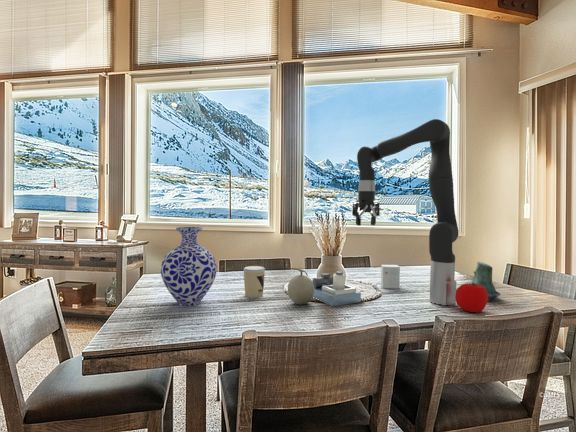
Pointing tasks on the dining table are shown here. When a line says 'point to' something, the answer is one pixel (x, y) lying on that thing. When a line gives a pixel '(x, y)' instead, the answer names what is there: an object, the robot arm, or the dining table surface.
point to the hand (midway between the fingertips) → (365, 225)
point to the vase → (188, 269)
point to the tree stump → (485, 279)
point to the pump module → (338, 281)
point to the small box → (390, 276)
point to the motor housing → (334, 292)
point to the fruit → (300, 288)
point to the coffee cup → (254, 281)
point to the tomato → (471, 297)
